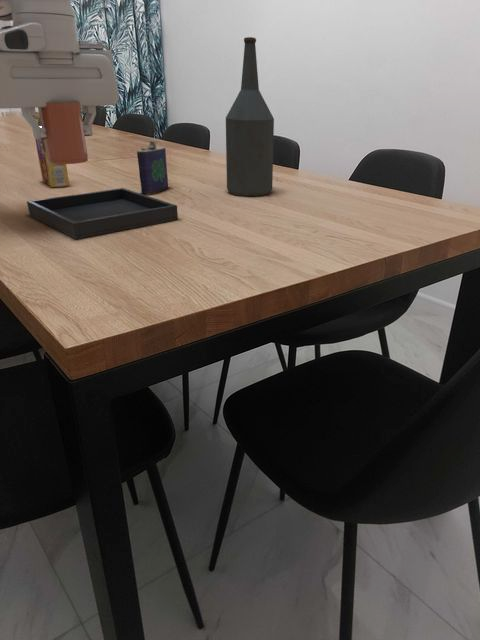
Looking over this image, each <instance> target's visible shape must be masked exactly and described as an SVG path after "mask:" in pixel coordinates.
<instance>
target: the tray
mask: <svg viewBox="0 0 480 640" xmlns="http://www.w3.org/2000/svg"><path fill="white" fill-rule="evenodd" d="M26 204H27V209H28V214H29V216H30V217H32V218H33V219H36V220H38V221H39V222H42V223H43V224H45V225H47V226H49V227H51V228H53V229H55V230H57V231H59V232H62V233H63V234H65V235H66V236H69V237H71V238H73V239H75V240H82V239H85V238H91V237H96V236H101V235H107V234H111V233H116V232H121V231H125V230H126V231H127V230H132V229H138V228H141V227H142V228H143V227H147V226H152V225H158V224H163V223H167V222H172V221H178V220H179V214H178V213H179V212H178V205H176V204H175V203H174V204H173V203H171V202H167V201H164V200H162V199H159V198H155V197H152V196H150V195H143V194H142V193H140V192H136V191H133V190H130V189H127V188H125V187H120V188H113V189H107V190H99V191H92V192H85V193H84V192H83V193H77V194H70V195H61V196H55V197H48V198H42V199H41V198H40V199H35V200H28V201H26Z"/></svg>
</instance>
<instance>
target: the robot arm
mask: <svg viewBox="0 0 480 640" xmlns="http://www.w3.org/2000/svg"><path fill="white" fill-rule="evenodd" d="M0 21H1V22H2V21H3V22H10V21H12V25H6V26H2V27H0V109H3V110H4V109H20V111H21V116H22V117H23V118H24V120H25V121H26V122H27V123H28V125H29V126H30V127H31V129H32V134H33V138H34V140H35V139H37V140H41V139H47V135H46V128H45V127H41V126H39V125H38V123H37V122H36V120H35V119H34V118H33V116H36V112H37V111H36V108H37V109H38V107H46V103H69V102H80V107H81V110H82V113H84V114H85V116H84V119H83V128H84V135H85V137H93V127H92V125H93V123H94V121H95V118H96V116H97V108H96V107H97V106H116V105H117V103H118V102H119V100H120V93H119V88H118V83H117V78H116V74H115V71H114V65H115V64H114V57H113V52H112V51H111V50H110V48H109V47H108V46H106V45H105V44H104V43H103V42H101V41H88V40H79V36H78V35H79V34H78V27H77V21H76V14H75V11H74V9H73V6H72V3H71V0H0Z"/></svg>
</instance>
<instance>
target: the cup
mask: <svg viewBox="0 0 480 640" xmlns="http://www.w3.org/2000/svg"><path fill="white" fill-rule="evenodd" d="M37 110H38V111H37V112H39V116H40V121H41V127H45V128H46V135H47V139H44V143H45V149H46V154H47V159H48V162H49V163H53V164H66V165H74V164H75V165H76V164H83V163H87V162H88V161H89V157H88V149H87V143H86V142H87V141H86V136H85V135H84V128H83V122H84V120H83V115H82V106H80V102H69V103H46V107H37Z"/></svg>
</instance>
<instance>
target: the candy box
mask: <svg viewBox="0 0 480 640" xmlns="http://www.w3.org/2000/svg"><path fill="white" fill-rule="evenodd" d="M35 112H36V116H33V118H34V119H35V120H36V122H37V123H38V125H39V126H41V121H40V116H39V111H35ZM34 140H35V146H36V151H37V158H38V163H39V169H40V174H41V180H42V182H43V183H44V184H46V185H47V186H49V187H51V188H64V187H70V181H69V173H68V167H67V164H53V163H49V162H48V159H47V154H46V149H45V143H44V139H41V140H37V139H35V138H34Z"/></svg>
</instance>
